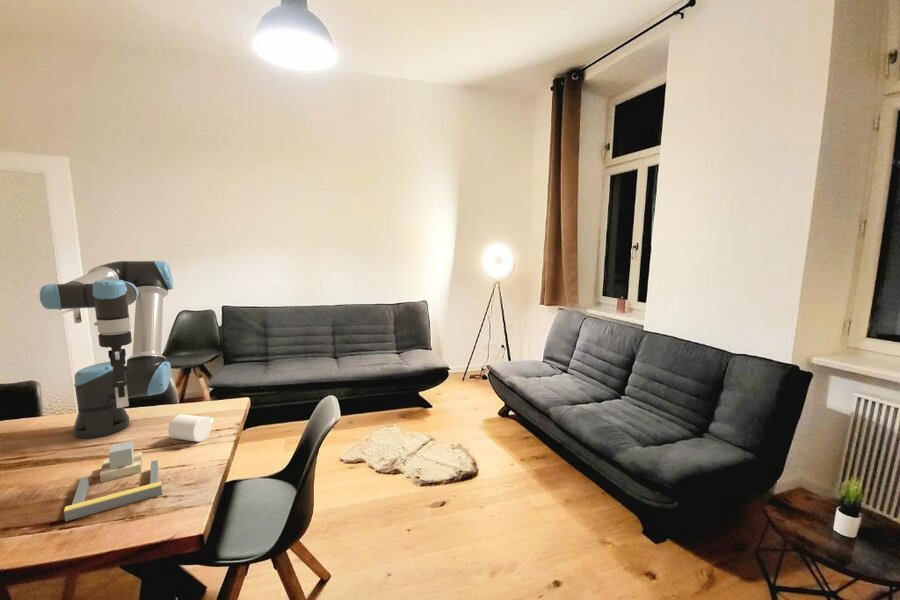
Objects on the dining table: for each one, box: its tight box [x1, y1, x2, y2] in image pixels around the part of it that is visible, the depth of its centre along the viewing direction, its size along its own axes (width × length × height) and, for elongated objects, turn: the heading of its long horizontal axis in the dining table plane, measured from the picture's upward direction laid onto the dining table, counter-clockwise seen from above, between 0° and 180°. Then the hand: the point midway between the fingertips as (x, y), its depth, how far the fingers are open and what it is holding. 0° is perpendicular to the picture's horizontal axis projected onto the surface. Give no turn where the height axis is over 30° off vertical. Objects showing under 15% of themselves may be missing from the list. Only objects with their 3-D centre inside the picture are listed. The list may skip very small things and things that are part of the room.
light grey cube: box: [108, 441, 135, 469], centre depth 117 cm, size 5×5×5 cm
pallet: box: [99, 451, 143, 483], centre depth 118 cm, size 9×9×3 cm
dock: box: [63, 459, 163, 522], centre depth 108 cm, size 16×19×3 cm
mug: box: [167, 413, 215, 443], centre depth 139 cm, size 12×10×8 cm
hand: (122, 399), depth 123 cm, fingers open, 13 cm apart
